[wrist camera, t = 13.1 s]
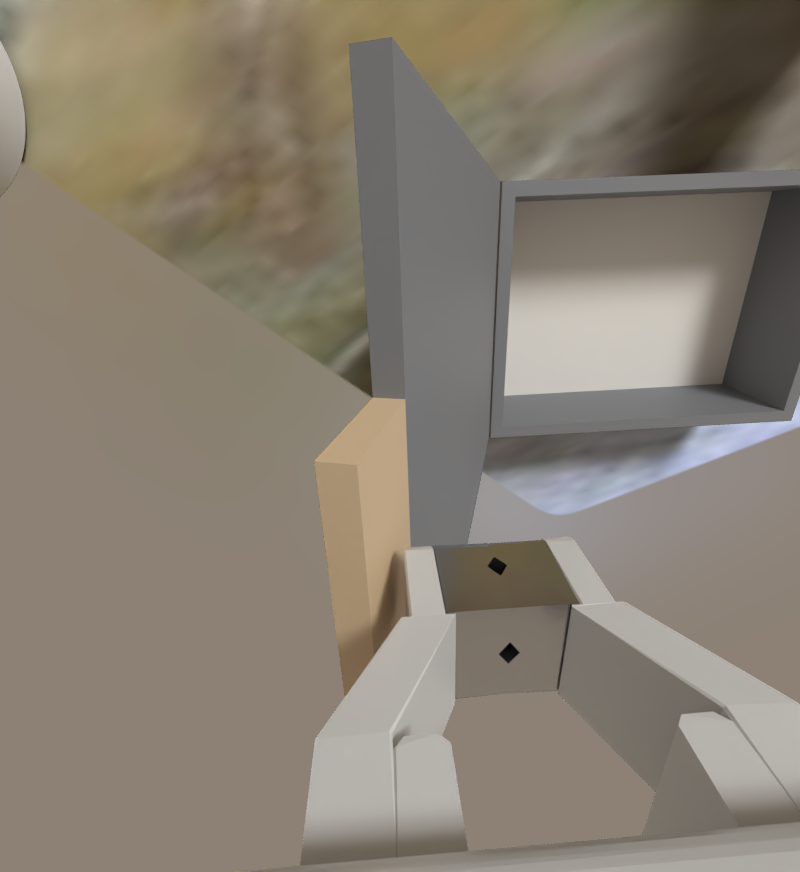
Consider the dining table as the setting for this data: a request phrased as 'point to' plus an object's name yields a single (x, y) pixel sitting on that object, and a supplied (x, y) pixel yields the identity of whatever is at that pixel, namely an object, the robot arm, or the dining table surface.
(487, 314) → the lid
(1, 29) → the dining table surface
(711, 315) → the box
